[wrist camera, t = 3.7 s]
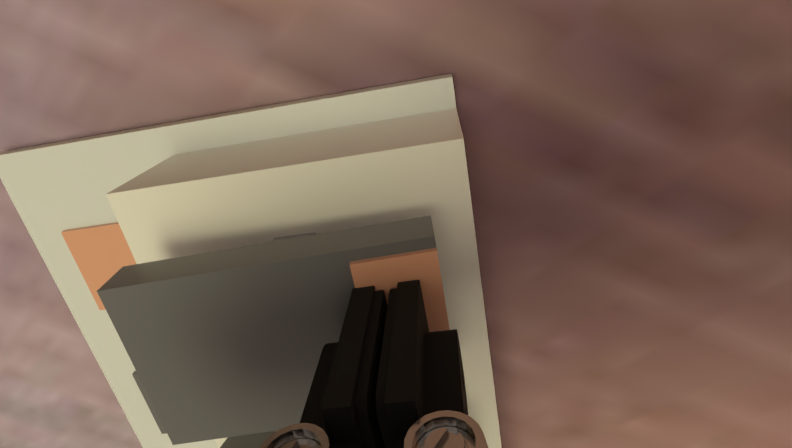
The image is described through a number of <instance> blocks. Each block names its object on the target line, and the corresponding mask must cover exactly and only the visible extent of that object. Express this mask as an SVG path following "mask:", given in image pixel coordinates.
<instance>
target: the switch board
mask: <svg viewBox="0 0 792 448" xmlns="http://www.w3.org/2000/svg"><path fill="white" fill-rule="evenodd" d="M0 179H1V181H2V183H3V185H4V187H5V188H6V190H7V192H8V194H9V196H10V198H11V200H12V202H13V203H14V205H15V207H16V209H17V211H18V213H19V215H20V217H21V219H22V220H23V222H24V224H25V226H26V228H27V230H28V232H29V234H30V236H31V237H32V239H33V241H34V243H35V245H36V247H37V249H38V251H39V252H40V254H41V256H42V258H43V260H44V262H45V264H46V266H47V268H48V269H49V271H50V273H51V275H52V277H53V279H54V281H55V283H56V285H57V286H58V288H59V290H60V292H61V294H62V296H63V298H64V300H65V301H66V303H67V305H68V307H69V309H70V311H71V313H72V315H73V317H74V318H75V320H76V322H77V324H78V326H79V328H80V330H81V332H82V334H83V335H84V337H85V339H86V341H87V343H88V345H89V347H90V349H91V350H92V352H93V354H94V356H95V358H96V360H97V362H98V364H99V366H100V367H101V369H102V371H103V373H104V375H105V377H106V379H107V381H108V383H109V384H110V386H111V388H112V390H113V392H114V394H115V396H116V398H117V399H118V401H119V403H120V405H121V407H122V409H123V411H124V413H125V415H126V416H127V418H128V420H129V422H130V424H131V426H132V428H133V430H134V432H135V433H136V435H137V437H138V439H139V441H140V443H141V445H142V447H143V448H220V447H221V446H222V444H223V443H224V442H225V440H226V439H227V438H228V437H227V438H220V439H212V440H205V441H198V442H191V443H184V444H177V445H173V444H172V442H171V440H170V438H169V436H168V434H167V432H166V430H165V428H164V426H163V424H162V422H161V420H160V418H159V416H158V414H157V412H156V410H155V408H154V406H153V404H152V402H151V400H150V398H149V396H148V394H147V392H146V390H145V388H144V386H143V384H142V382H141V380H140V378H139V376H138V374H137V372H136V370H135V368H134V366H133V363H132V361H131V359H130V357H129V355H128V353H127V351H126V349H125V347H124V345H123V343H122V341H121V339H120V337H119V335H118V333H117V331H116V329H115V327H114V325H113V323H112V321H111V319H110V317H109V315H108V313H107V311H106V309H105V307H104V305H103V303H102V301H101V299H100V297H99V295H98V293H97V290H98V289H99V288H100V287H102V286H103V285H104V284H105V283H106V282H107V281H108V280H109V279H110V278H111V277H112V276H113V275H114V274H115V273H116V272H118V271H119V270H120V269H121V268H122V267H123V266H129V265H135V264H141V263H147V262H153V261H159V260H165V259H171V258H177V257H183V256H189V255H195V254H201V253H207V252H213V251H219V250H225V249H231V248H237V247H243V246H249V245H255V244H261V243H267V242H273V241H279V240H285V239H291V238H297V237H303V236H309V235H316V234H322V233H328V232H334V231H340V230H346V229H352V228H358V227H364V226H370V225H376V224H382V223H388V222H394V221H400V220H406V219H412V218H418V217H424V216H430V215H431V220H432V225H433V230H434V235H435V242H436V248H437V254H438V260H439V266H440V272H441V278H442V285H443V291H444V297H445V303H446V310H447V316H448V322H449V328H450V330H453V329H457V332H458V337H459V344H460V350H461V357H462V363H463V371H464V379H465V387H466V397H467V407H468V416H470V417H471V418H473V419H474V420H475V421H476V422H477V423H478V424H479V426H480V427H481V429H482V431H483V433H484V436H485V439H486V442H487V445H488V448H502V446H501V438H500V430H499V422H498V414H497V405H496V397H495V389H494V381H493V373H492V365H491V357H490V349H489V340H488V332H487V324H486V316H485V308H484V300H483V292H482V284H481V275H480V267H479V259H478V251H477V243H476V235H475V227H474V219H473V210H472V202H471V194H470V186H469V178H468V170H467V162H466V154H465V145H464V138H463V134H462V130H461V125H460V121H459V117H458V113H457V109H456V101H455V93H454V85H453V78H452V74H446V75H440V76H434V77H428V78H423V79H417V80H411V81H405V82H400V83H394V84H388V85H382V86H377V87H371V88H365V89H359V90H354V91H348V92H342V93H336V94H331V95H325V96H319V97H314V98H308V99H302V100H296V101H291V102H285V103H279V104H273V105H268V106H262V107H256V108H250V109H245V110H239V111H233V112H227V113H222V114H216V115H210V116H204V117H199V118H193V119H187V120H181V121H176V122H170V123H164V124H159V125H153V126H147V127H141V128H136V129H130V130H124V131H118V132H113V133H107V134H101V135H95V136H90V137H84V138H78V139H72V140H67V141H61V142H55V143H49V144H44V145H38V146H32V147H26V148H21V149H15V150H9V151H5V152H2V153H0ZM277 431H278V430H277ZM273 432H276V431H273Z"/></svg>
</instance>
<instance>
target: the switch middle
mask: <svg viewBox="0 0 792 448" xmlns="http://www.w3.org/2000/svg"><path fill="white" fill-rule="evenodd" d="M273 433H275V432H273V431H269V432H262V433H255V434H248V435H241V436H234V437H228V438H227V439H226V440H225V442H224V443H223V444H222V446H221V447H220V448H259V447H260V446H261V444H262V443H263V442H264V441H265V440H266V439H267V438H268V437H269V436H270V435H272V434H273Z"/></svg>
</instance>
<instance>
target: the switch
mask: <svg viewBox="0 0 792 448" xmlns="http://www.w3.org/2000/svg"><path fill="white" fill-rule="evenodd" d="M412 280H420V284H421V290H422V295H423V301H424V306H425V312H426V317H427V322H428V328H429V332H435V331H444V330H450V328H449V322H448V316H447V310H446V303H445V297H444V291H443V285H442V278H441V272H440V266H439V260H438V254H437V248H436V242H435V235H434V230H433V225H432V220H431V215H430V216H424V217H418V218H412V219H406V220H400V221H394V222H388V223H382V224H376V225H370V226H364V227H358V228H352V229H346V230H340V231H334V232H328V233H322V234H316V235H309V236H303V237H297V238H291V239H285V240H279V241H273V242H267V243H261V244H255V245H249V246H243V247H237V248H231V249H225V250H219V251H213V252H207V253H201V254H195V255H189V256H183V257H177V258H171V259H165V260H159V261H153V262H147V263H141V264H135V265H129V266H123V267H122V268H121V269H120V270H119V271H118V272H116V273H115V274H114V275H113V276H112V277H111V278H110V279H109V280H108V281H107V282H106V283H105V284H104V285H103V286H102V287H100V288H99V289H98V290H97V293H98V295H99V297H100V299H101V301H102V303H103V305H104V307H105V309H106V311H107V313H108V315H109V317H110V319H111V321H112V323H113V325H114V327H115V329H116V331H117V333H118V335H119V337H120V339H121V341H122V343H123V345H124V347H125V349H126V351H127V353H128V355H129V357H130V359H131V361H132V363H133V366H134V368H135V370H136V372H137V374H138V376H139V378H140V380H141V382H142V384H143V386H144V388H145V390H146V392H147V394H148V396H149V398H150V400H151V402H152V404H153V406H154V408H155V410H156V412H157V414H158V416H159V418H160V420H161V422H162V424H163V426H164V428H165V430H166V432H167V434H168V436H169V438H170V440H171V442H172V444H173V445H177V444H184V443H191V442H198V441H205V440H212V439H220V438H227V437H234V436H241V435H248V434H255V433H262V432H269V431H277V430H280V429H282V428H283V427H286V426H289V425H292V424H297V423H300V420H301V417H302V413H303V410H304V407H305V404H306V400H307V397H308V394H309V391H310V388H311V384H312V381H313V378H314V375H315V371H316V368H317V365H318V362H319V359H320V355H321V352H322V349H323V347H324V345H325V344H326V343H335V342H338V341H339V337H340V334H341V330H342V326H343V322H344V319H345V315H346V311H347V308H348V304H349V300H350V296H351V293H352V289H353V288H360V287H367V286H374V287H375V291H379V290H384V292H385V297H386V301H387V306H388V299H389V291H390V289H394V288H397V284H398V282H405V281H412Z"/></svg>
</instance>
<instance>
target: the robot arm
mask: <svg viewBox="0 0 792 448" xmlns="http://www.w3.org/2000/svg"><path fill="white" fill-rule="evenodd" d="M259 448H488V445H487V442H486V439H485V436H484V433H483V431H482V429H481V427H480V426H479V424H478V423H477V422H476V421H475V420H474V419H473V418H471V417H470V416H468V407H467V397H466V387H465V379H464V371H463V363H462V357H461V350H460V344H459V337H458V332H457V329H453V330H444V331H435V332H429V328H428V322H427V317H426V312H425V306H424V301H423V295H422V290H421V284H420V280H412V281H405V282H398V284H397V288H394V289H390V291H389V299H388V306H387V301H386V297H385V292H384V290H379V291H375V287H374V286H367V287H360V288H353V289H352V293H351V296H350V300H349V304H348V308H347V311H346V315H345V319H344V322H343V326H342V330H341V334H340V337H339V341H338V342H335V343H326V344H325V345H324V347H323V349H322V352H321V355H320V359H319V362H318V365H317V368H316V371H315V375H314V378H313V381H312V384H311V388H310V391H309V394H308V397H307V400H306V404H305V407H304V410H303V413H302V417H301V420H300V423H297V424H292V425H289V426H286V427H283V428H282V429H280V430H278V431H276V432H275V433H273V434H272V435H270V436H269V437H268V438H267V439H266V440H265V441H264V442H263V443H262V444H261V446H260V447H259Z"/></svg>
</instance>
